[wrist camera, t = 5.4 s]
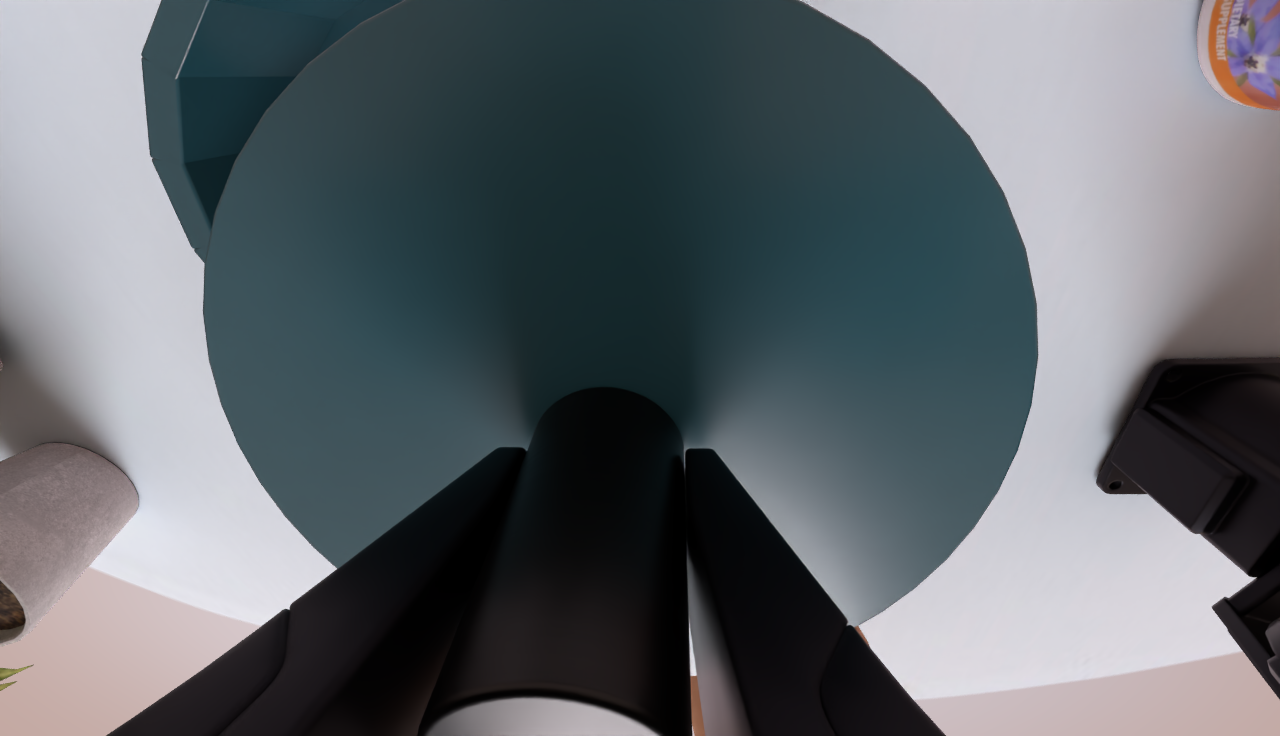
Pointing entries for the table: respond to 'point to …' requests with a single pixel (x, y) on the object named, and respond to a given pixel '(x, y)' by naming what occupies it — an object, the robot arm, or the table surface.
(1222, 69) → the pill bottle
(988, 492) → the lid
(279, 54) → the pot
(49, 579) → the house plant
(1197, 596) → the table surface
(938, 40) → the table surface
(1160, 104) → the table surface
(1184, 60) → the table surface
